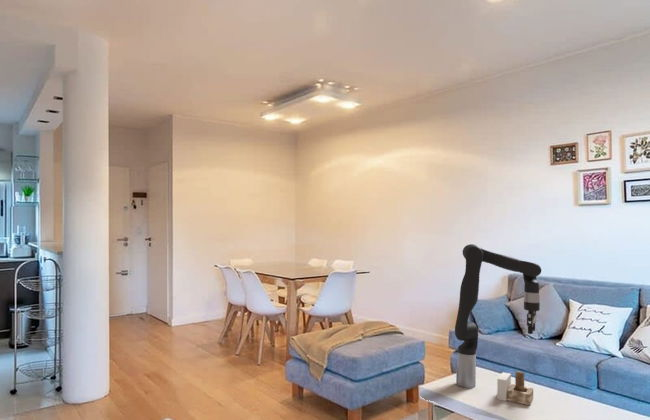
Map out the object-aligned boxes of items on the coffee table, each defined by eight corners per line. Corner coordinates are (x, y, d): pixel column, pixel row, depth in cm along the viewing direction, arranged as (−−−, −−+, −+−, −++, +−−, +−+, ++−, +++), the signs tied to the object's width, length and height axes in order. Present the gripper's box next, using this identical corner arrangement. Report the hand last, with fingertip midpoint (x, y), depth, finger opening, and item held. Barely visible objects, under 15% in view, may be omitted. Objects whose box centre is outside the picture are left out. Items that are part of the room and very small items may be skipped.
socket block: (507, 400, 217) (507, 390, 217) (511, 394, 225) (511, 384, 225) (530, 405, 211) (530, 394, 212) (533, 398, 220) (533, 388, 220)
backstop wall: (497, 399, 219) (497, 378, 219) (502, 391, 229) (502, 372, 229) (505, 401, 216) (506, 380, 217) (510, 393, 226) (510, 373, 227)
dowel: (514, 397, 218) (514, 372, 218) (516, 395, 221) (516, 370, 222) (523, 399, 216) (523, 374, 216) (525, 396, 219) (524, 372, 219)
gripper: (537, 303, 225) (537, 336, 224) (541, 299, 237) (541, 330, 236) (521, 301, 229) (521, 333, 228) (526, 298, 241) (526, 328, 240)
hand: (531, 332), depth 232 cm, fingers open, 8 cm apart
